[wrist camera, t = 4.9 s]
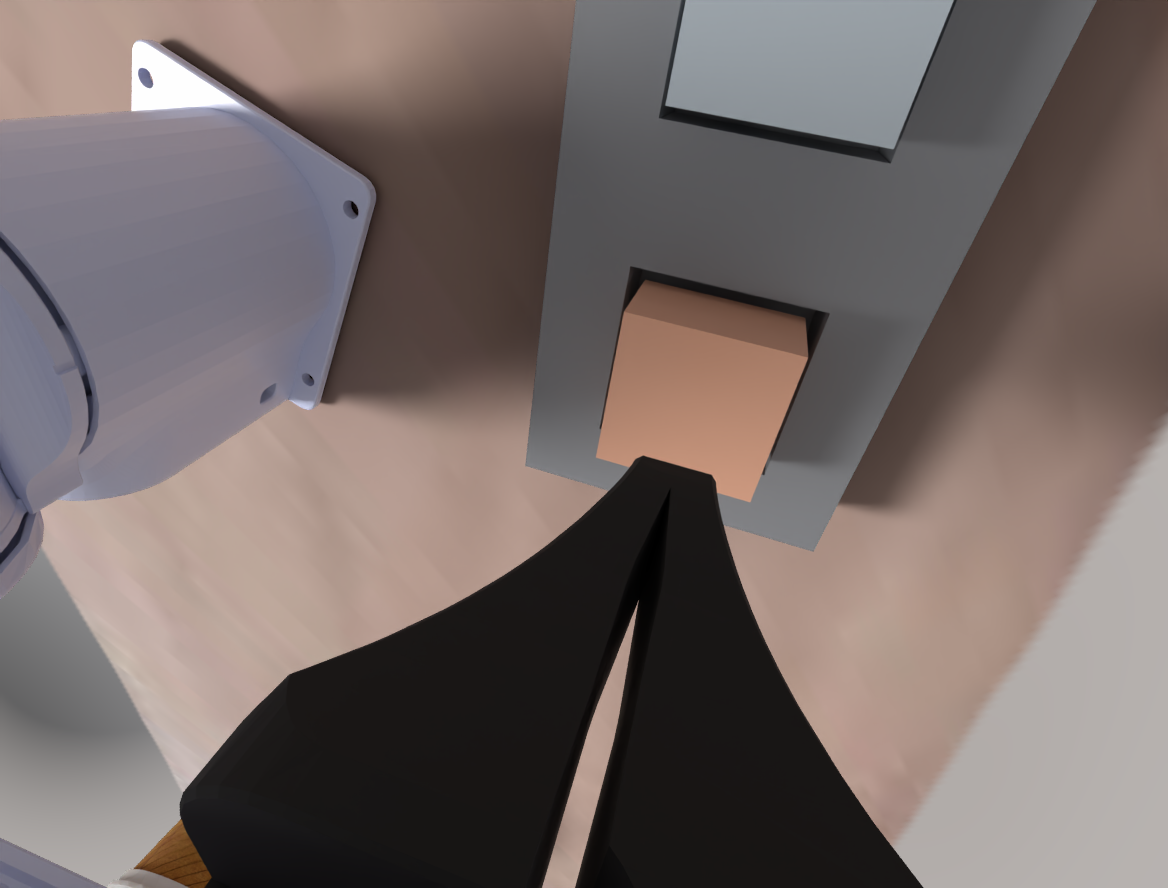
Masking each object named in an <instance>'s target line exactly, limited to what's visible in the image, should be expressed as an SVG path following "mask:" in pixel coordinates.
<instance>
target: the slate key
mask: <svg viewBox="0 0 1168 888" xmlns="http://www.w3.org/2000/svg"><path fill="white" fill-rule="evenodd" d="M953 1H954V0H686V2H685V7H684V12H683V17H682V22H681V27H680V33H679V38H678V43H677V48H676V53H675V58H674V63H673V69H672V74H671V79H670V84H669V89H668V94H667V100H666V105H665V106H670V107H676V108H681V109H686V110H691V111H696V112H702V113H707V114H712V115H717V116H722V117H728V118H733V119H738V120H743V121H749V122H754V123H759V124H764V125H769V126H775V127H780V128H785V129H790V130H795V131H801V132H806V133H811V134H816V135H821V136H827V137H832V138H837V139H842V140H847V141H853V142H858V143H863V144H868V145H874V146H879V147H884V148H889V149H894V147H895V145H896V142H897V140H898V137H899V135H900V132H901V130H902V127H903V125H904V122H905V120H906V117H907V115H908V113H909V110H910V108H911V105H912V103H913V100H914V98H915V95H916V93H917V90H918V88H919V85H920V83H921V80H922V78H923V75H924V73H925V70H926V68H927V65H928V63H929V60H930V58H931V55H932V53H933V50H934V48H935V46H936V43H937V41H938V38H939V36H940V33H941V31H942V28H943V26H944V23H945V21H946V18H947V16H948V13H949V11H950V8H951V6H952V3H953Z"/></svg>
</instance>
